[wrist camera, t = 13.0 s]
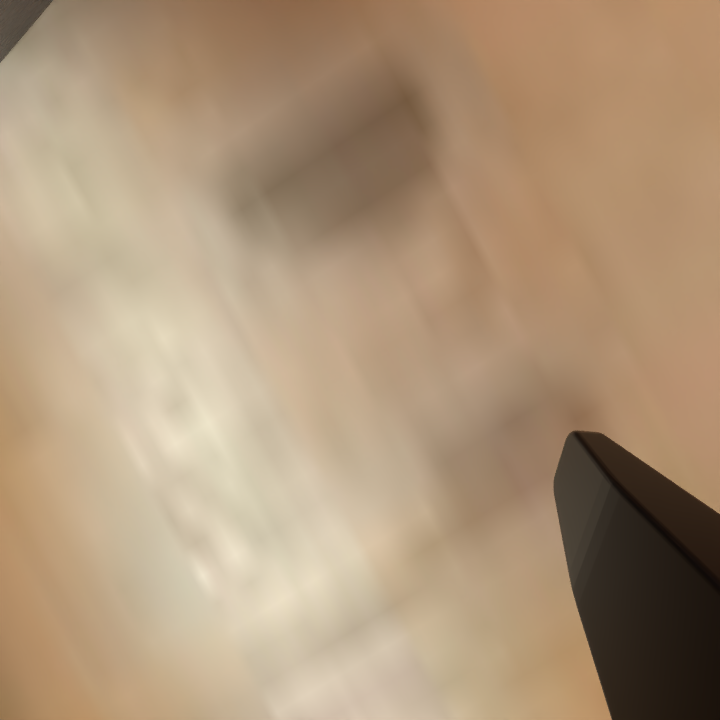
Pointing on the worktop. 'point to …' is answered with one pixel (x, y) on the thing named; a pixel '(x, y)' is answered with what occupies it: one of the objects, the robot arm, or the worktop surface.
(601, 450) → the robot arm
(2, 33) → the collar
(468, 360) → the worktop surface
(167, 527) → the worktop surface
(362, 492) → the worktop surface
